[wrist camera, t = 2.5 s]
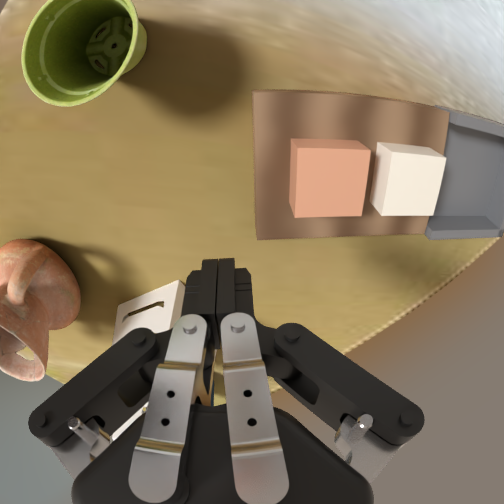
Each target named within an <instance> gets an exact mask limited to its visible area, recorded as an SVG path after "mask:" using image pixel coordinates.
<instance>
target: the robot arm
mask: <svg viewBox="0 0 504 504" xmlns="http://www.w3.org/2000/svg"><path fill="white" fill-rule="evenodd" d="M221 346H222V351H223V362H224V365H223V372H224V383H225V394H226V404H222V405H218V406H214V407H211V391H212V383H213V374H214V366H215V362H214V358H215V349H221ZM267 376H271V377H273V378H274V380H275V381H276V382H277V383H278V384H279V385H280V386H282V387H283V388H284V389H285V390H286V391H288V392H289V393H290V394H291V395H292V396H293V397H294V398H296V399H297V400H298V401H299V402H301V403H302V404H303V405H304V406H305V407H307V408H308V409H309V410H310V411H311V412H313V413H314V414H315V415H317V416H318V417H319V418H320V419H321V420H323V421H324V422H325V423H327V424H328V425H329V426H330V427H332V428H333V429H334V430H335V431H337V432H336V434H335V439H334V441H335V445H336V447H337V448H338V449H339V451H340V452H341V453H342V454H343V456H344V458H345V461H344V460H343V459H342V458H340V457H339V456H338V455H337V454H335V453H334V452H333V451H332V450H331V449H330V448H328V447H327V446H326V445H325V444H324V443H323V442H321V441H320V440H319V439H318V438H317V437H315V436H314V435H313V434H312V433H311V432H310V431H309V430H308V429H307V428H305V427H304V426H303V425H302V424H301V423H300V422H299V421H297V419H295V418H294V417H293V416H292V415H290V414H289V413H287V412H285V411H283V410H281V409H278V408H276V407H273V405H272V400H271V395H270V390H269V384H268V379H267ZM148 401H149V402H148ZM147 402H148V406H147V410H146V412H145V413H143V414H142V415H140V416H139V417H138V418H137V419H136V420H135V421H134V422H133V423H132V424H131V425H130V426H129V427H127V428H126V429H125V430H124V431H123V432H122V433H121V434H120V435H119V436H118V437H117V438H116V439H115V440H114V441H113V442H112V443H111V444H110V436H111V435H112V434H113V433H114V432H115V431H117V430H118V429H119V428H120V427H121V426H122V425H123V424H124V423H125V422H127V421H128V420H129V419H130V418H131V417H132V416H133V415H134V414H135V413H136V412H138V411H139V410H140V409H141V408H142V407H143V406H144V405H145V404H146V403H147ZM28 425H29V429H30V431H31V433H32V434H33V435H34V436H36V437H37V438H39V439H40V440H41V441H42V442H43V443H44V444H46V445H47V446H48V447H50V448H51V449H52V450H53V452H54V453H55V455H56V456H57V457H58V459H59V460H60V462H61V463H62V464H63V466H64V467H65V468H66V470H67V471H68V472H69V474H70V475H71V476H72V477H73V479H74V483H73V486H72V491H71V494H72V502H73V504H373V503H374V495H373V491H372V488H371V486H370V483H371V482H372V481H373V480H374V479H375V478H376V477H377V475H378V474H379V473H380V472H381V471H382V469H383V468H384V467H385V465H386V464H387V463H388V462H389V461H390V459H391V458H392V457H393V456H394V454H395V453H396V452H397V451H398V450H399V449H400V448H401V447H402V446H404V445H405V444H406V443H407V442H408V441H409V440H411V439H412V438H413V437H414V436H415V435H416V434H417V433H419V432H420V430H421V429H422V427H423V425H424V414H423V412H422V410H421V409H420V408H419V407H418V406H417V405H416V404H414V403H413V402H411V401H410V400H408V399H407V398H405V397H404V396H402V395H401V394H399V393H398V392H396V391H395V390H393V389H392V388H390V387H389V386H388V385H386V384H385V383H383V382H382V381H380V380H379V379H377V378H376V377H374V376H373V375H372V374H370V373H369V372H367V371H366V370H364V369H363V368H361V367H360V366H359V365H357V364H356V363H354V362H353V361H351V360H350V359H349V358H347V357H346V356H344V355H343V354H342V353H340V352H339V351H337V350H336V349H334V348H333V347H332V346H330V345H329V344H327V343H326V342H325V341H323V340H322V339H320V338H319V337H318V336H316V335H315V334H313V333H312V332H311V331H309V330H308V329H307V328H305V327H304V326H302V325H300V324H297V323H286V324H283V325H281V326H279V327H278V328H277V329H274V328H269V327H266V326H263V325H262V324H260V323H259V322H258V321H257V320H256V318H255V316H254V308H253V296H252V284H251V274H250V273H249V272H248V270H247V269H246V268H236V269H235V260H234V258H223V259H219V261H218V259H205V260H203V261H202V269H201V270H196V271H192V272H191V273H190V275H189V276H188V277H187V280H186V287H185V294H184V298H183V304H182V311H181V317H180V318H179V319H178V320H177V321H176V322H175V324H174V326H173V328H171V329H169V330H167V331H164V332H160V333H156V334H154V332H153V331H152V330H150V329H148V328H144V327H141V328H136V329H133V330H131V331H130V332H129V333H127V334H126V335H125V336H124V337H122V338H121V339H120V340H119V341H117V342H116V343H115V344H114V345H113V346H111V347H110V348H109V349H108V350H106V351H105V352H104V353H103V354H101V355H100V356H99V357H98V358H97V359H95V360H94V361H93V362H92V363H90V364H89V365H88V366H87V367H86V368H84V369H83V370H82V371H81V372H79V373H78V374H77V375H76V376H75V377H73V378H72V379H71V380H70V381H69V382H67V383H66V384H65V385H64V386H62V387H61V388H60V389H59V390H58V391H56V392H55V393H54V394H53V395H52V396H50V397H49V398H48V399H47V400H46V401H45V402H43V403H42V404H41V405H40V406H38V407H37V408H36V409H35V410H34V411H33V412H32V413H31V415H30V417H29V421H28Z"/></svg>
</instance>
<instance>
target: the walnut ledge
mask: <svg viewBox="0 0 504 504" xmlns="http://www.w3.org/2000/svg"><path fill="white" fill-rule="evenodd" d="M252 110H253V150H254V193H255V227H256V236H257V240H272V239H294V238H318V237H343V236H369V235H398V234H425V230H426V227H427V223H428V219H429V216H381V215H380V213H379V212H378V211H377V210H376V209H375V207H374V206H373V205H372V204H371V202H370V201H369V200H370V194H371V187H372V181H373V174H374V166H375V159H376V151H377V142H384V143H395V144H404V145H413V146H421V147H429V148H431V149H433V150H434V151H436V152H438V153H439V154H441V155H443V154H444V148H445V142H446V136H447V129H448V122H449V114H450V112H447V111H445V110H442V109H439V108H437V107H434V106H429V105H425V104H420V103H414V102H409V101H403V100H397V99H391V98H384V97H377V96H369V95H361V94H351V93H341V92H328V91H310V90H252ZM291 139H337V140H357V141H359V142H360V143H362V144H363V145H364V146H366V147H367V148H368V149H370V150H371V153H370V162H369V170H368V177H367V184H366V191H365V198H364V204H363V210H362V216H341V217H304V218H295V217H294V214H293V212H292V209H291V206H290V203H289V192H290V157H291Z"/></svg>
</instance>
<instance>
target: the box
mask: <svg viewBox="0 0 504 504" xmlns="http://www.w3.org/2000/svg"><path fill="white" fill-rule="evenodd" d="M435 107H437V108H439V109H442V110H445V111H447V112H450V114H449V122H448V129H447V136H446V142H445V148H444V154H443V156H444V157H446V163H445V168H444V172H443V177H442V182H441V186H440V190H439V194H438V199H437V203H436V206H435V210H434V214H433V216H429V219H428V223H427V227H426V230H425V235H426V236H427V238H428V239H429V240H440V239H464V238H489V237H502V235H503V233H504V124H501V123H498V122H495V121H492V120H489V119H486V118H483V117H480V116H476V115H473V114H469V113H466V112H462V111H458V110H454V109H450V108H446V107H442V106H438V105H435Z"/></svg>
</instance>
